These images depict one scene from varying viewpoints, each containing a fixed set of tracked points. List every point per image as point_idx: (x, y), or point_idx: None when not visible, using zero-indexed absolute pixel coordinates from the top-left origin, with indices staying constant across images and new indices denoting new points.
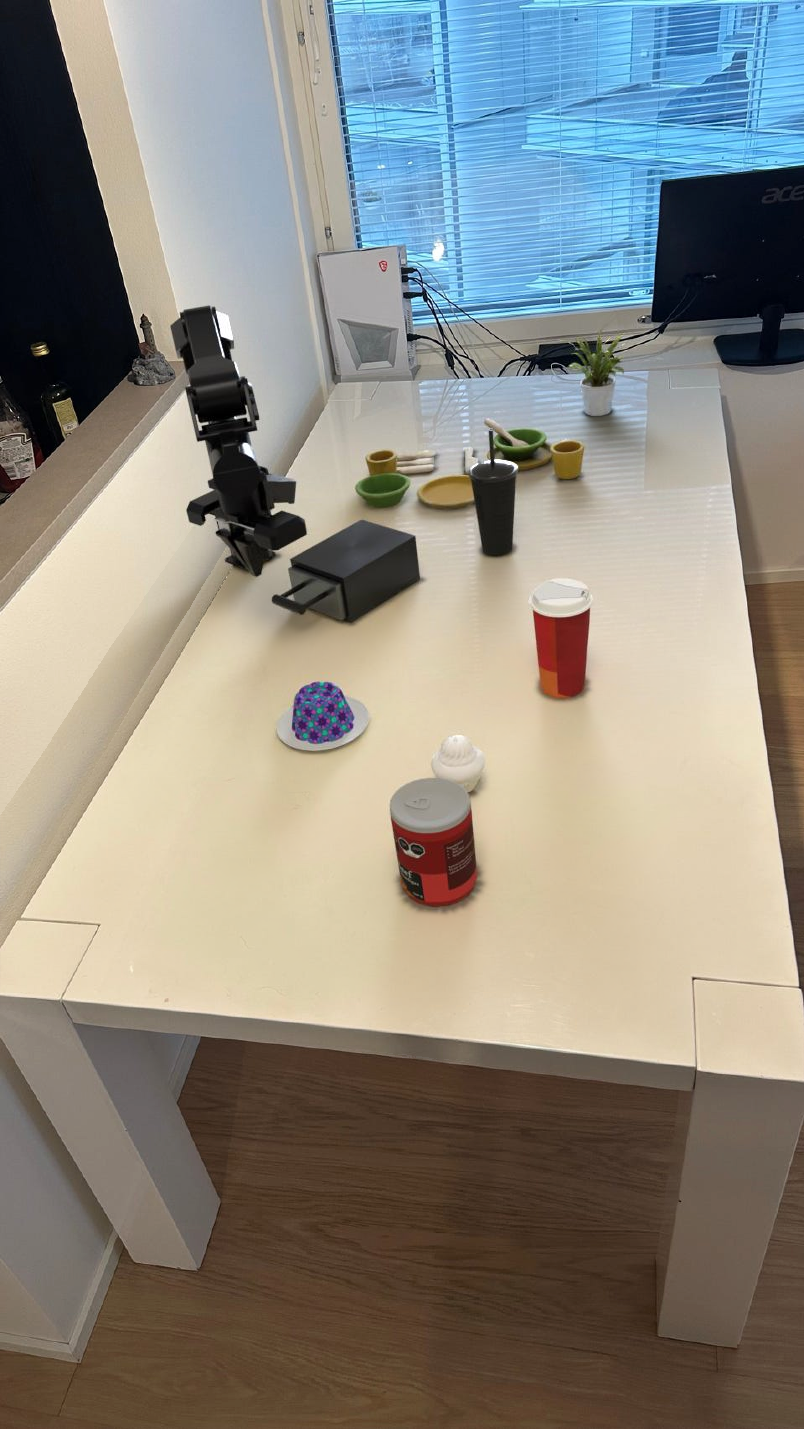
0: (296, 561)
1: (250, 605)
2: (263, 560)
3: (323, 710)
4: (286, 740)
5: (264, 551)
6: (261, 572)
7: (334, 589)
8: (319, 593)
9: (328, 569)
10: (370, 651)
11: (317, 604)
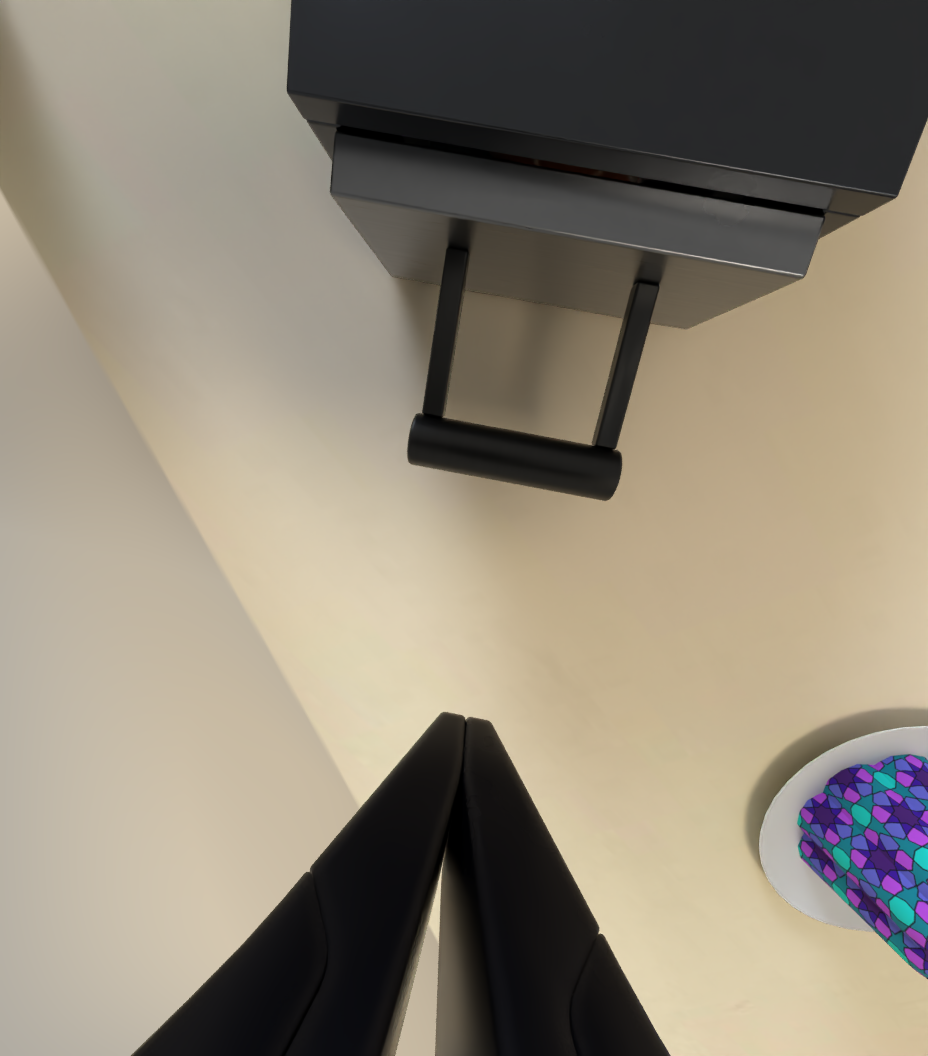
0: (364, 107)
1: (218, 350)
2: (546, 829)
3: None
4: (825, 912)
5: (624, 990)
6: (493, 730)
7: (770, 285)
8: (595, 278)
9: (703, 114)
10: (875, 451)
11: (551, 294)
